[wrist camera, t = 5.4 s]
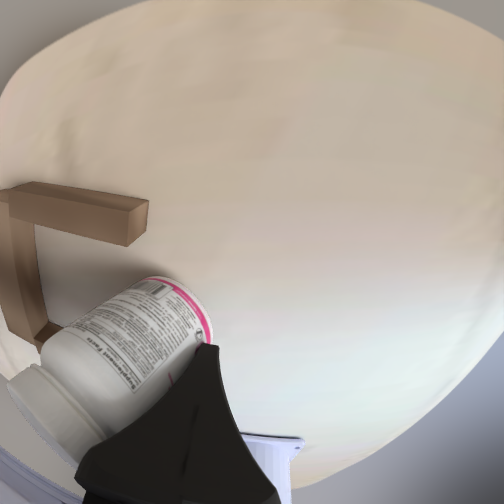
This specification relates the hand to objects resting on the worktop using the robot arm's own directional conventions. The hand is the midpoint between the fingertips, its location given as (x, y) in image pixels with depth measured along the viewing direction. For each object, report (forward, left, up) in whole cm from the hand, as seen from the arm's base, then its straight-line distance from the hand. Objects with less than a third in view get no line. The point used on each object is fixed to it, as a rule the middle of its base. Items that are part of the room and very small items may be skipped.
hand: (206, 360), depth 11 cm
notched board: (0, +9, -3) cm, 9 cm away
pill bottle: (0, +2, -2) cm, 3 cm away
